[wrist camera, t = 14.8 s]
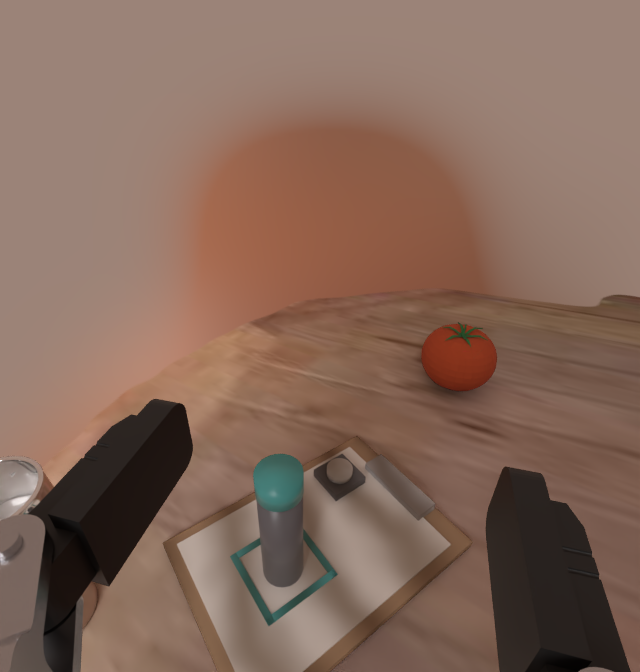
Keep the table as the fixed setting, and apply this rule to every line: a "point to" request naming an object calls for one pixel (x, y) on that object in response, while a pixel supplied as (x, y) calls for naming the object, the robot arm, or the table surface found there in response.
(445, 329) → the tomato
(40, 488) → the beer glass
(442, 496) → the table surface
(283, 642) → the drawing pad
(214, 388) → the table surface
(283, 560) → the marker
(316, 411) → the table surface
